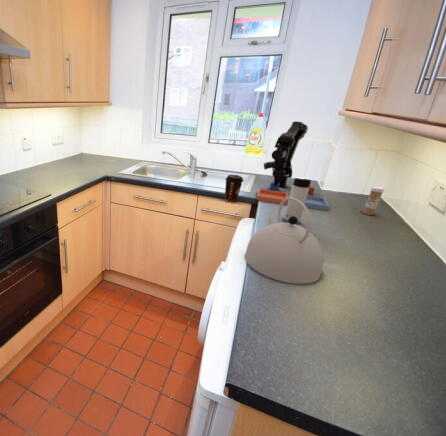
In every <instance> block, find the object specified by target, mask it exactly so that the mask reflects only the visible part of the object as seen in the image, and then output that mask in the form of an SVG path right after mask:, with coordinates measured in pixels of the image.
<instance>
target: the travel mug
mask: <svg viewBox="0 0 446 436" xmlns="http://www.w3.org/2000/svg"><path fill="white" fill-rule="evenodd" d="M311 182H312V179H307V178H299V177H295V178H294V180H293V183H292V187H291V190H290V194H289V197H292V198H295V199H297V200H299V201H301V202H302V203H303V204H305V201H306V198H307V194H308V191H309V187H310V186H311ZM303 211H304V209H303V207H302V206H301V205H300V204H299V203H297V202H295V201H293V200H288V204H287V205H286V209H285V213H284V218H283V221H284V222H285V223H289V222H288V219H289V218H290V217H291V216H295V217H296V218H297V219H298V222H297V223H296V224H295V225H297V224H299V223H300V221H301V218H302V214H303Z"/></svg>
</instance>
